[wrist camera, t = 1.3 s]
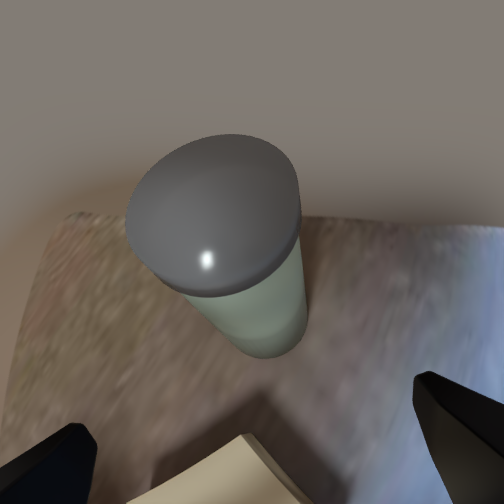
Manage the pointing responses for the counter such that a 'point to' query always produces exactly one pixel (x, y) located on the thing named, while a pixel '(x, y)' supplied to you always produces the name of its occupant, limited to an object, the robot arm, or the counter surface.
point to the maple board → (230, 479)
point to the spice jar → (227, 238)
